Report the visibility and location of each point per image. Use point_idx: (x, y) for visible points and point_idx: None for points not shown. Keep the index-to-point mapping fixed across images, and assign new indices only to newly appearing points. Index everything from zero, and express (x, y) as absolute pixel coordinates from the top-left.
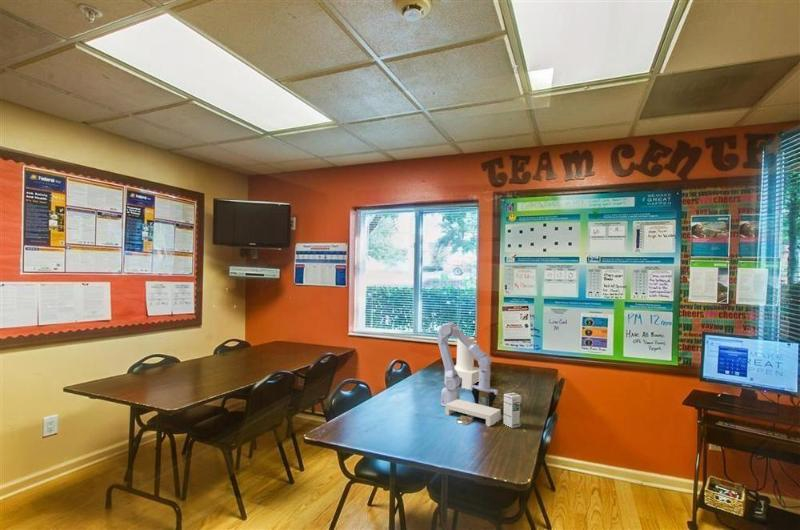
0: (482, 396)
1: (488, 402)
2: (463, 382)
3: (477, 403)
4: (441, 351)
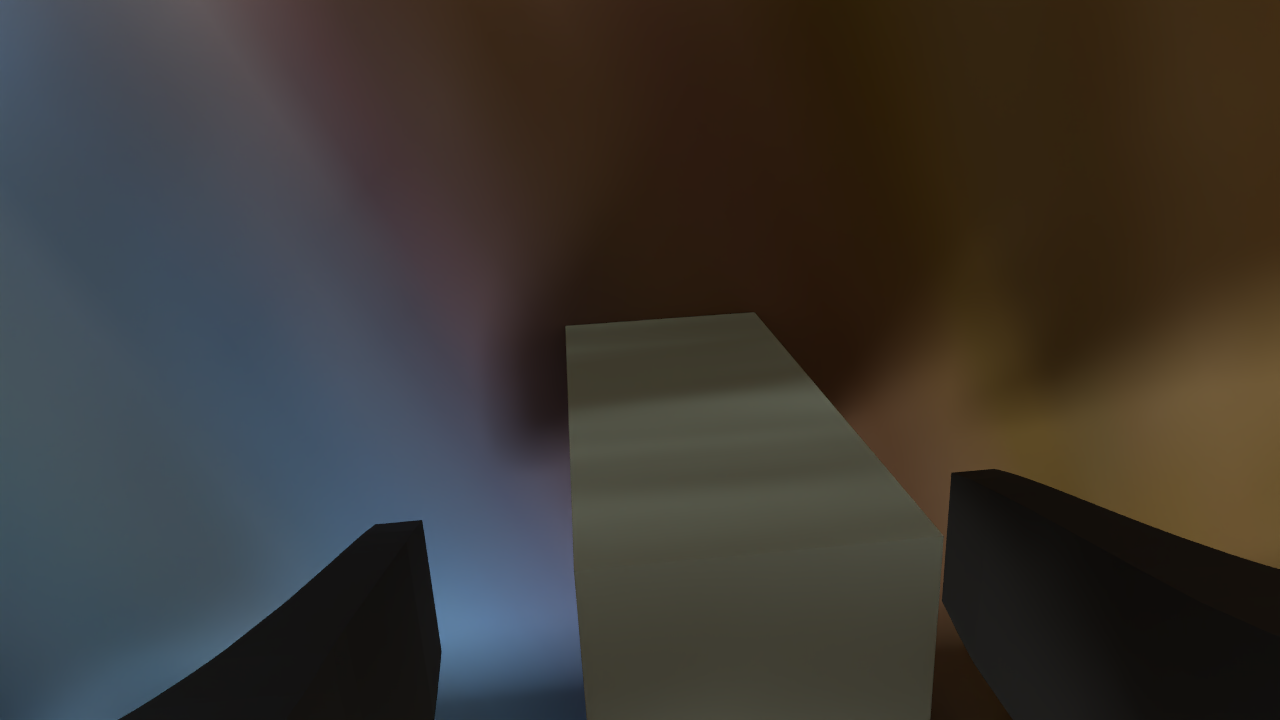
0: (597, 700)
1: (837, 416)
2: None
3: (430, 601)
4: None
